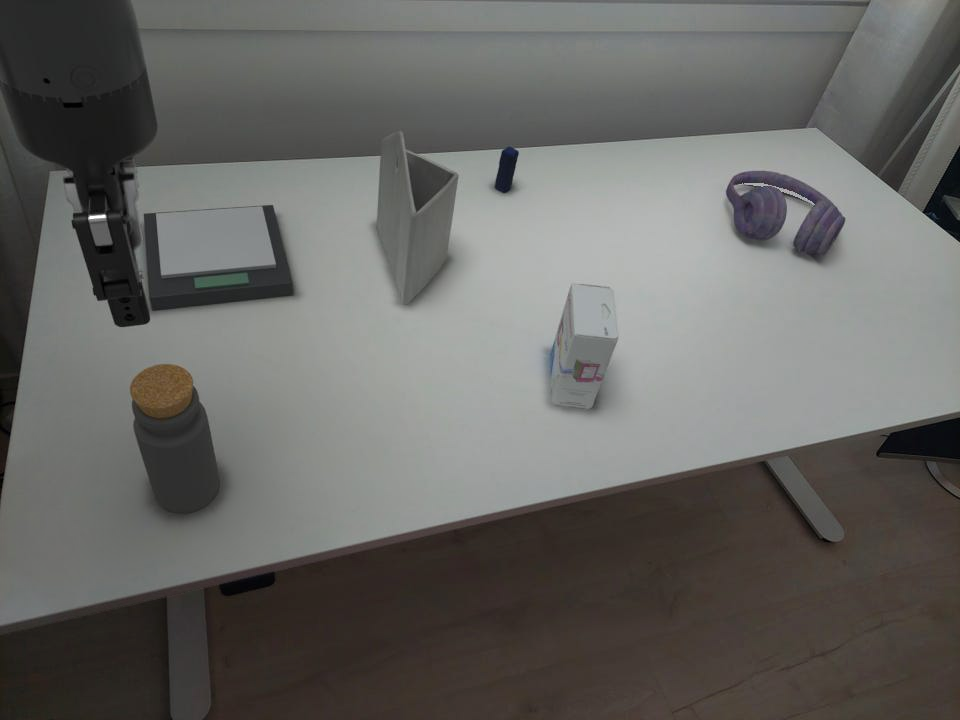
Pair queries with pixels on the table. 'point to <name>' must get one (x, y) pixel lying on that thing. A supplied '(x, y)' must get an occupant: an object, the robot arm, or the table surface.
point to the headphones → (783, 211)
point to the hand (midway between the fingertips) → (131, 281)
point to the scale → (215, 257)
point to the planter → (413, 214)
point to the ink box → (583, 345)
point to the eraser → (506, 169)
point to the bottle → (174, 438)
